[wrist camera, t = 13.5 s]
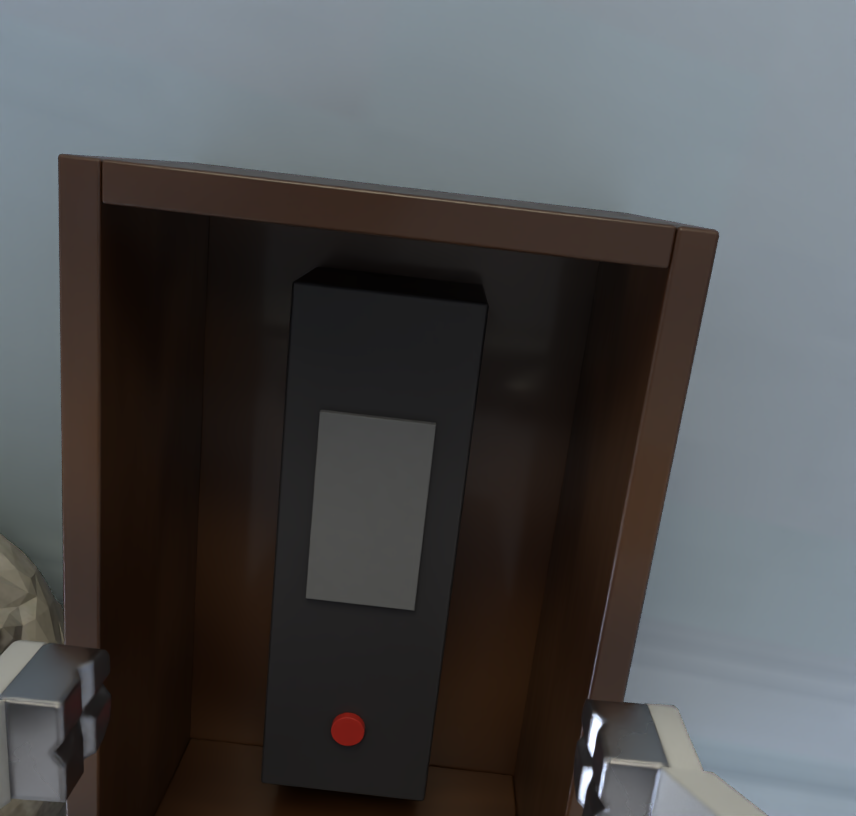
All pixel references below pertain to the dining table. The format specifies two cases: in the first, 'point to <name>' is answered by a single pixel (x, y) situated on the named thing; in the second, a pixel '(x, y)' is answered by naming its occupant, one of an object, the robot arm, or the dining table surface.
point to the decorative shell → (27, 635)
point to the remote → (368, 526)
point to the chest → (261, 462)
